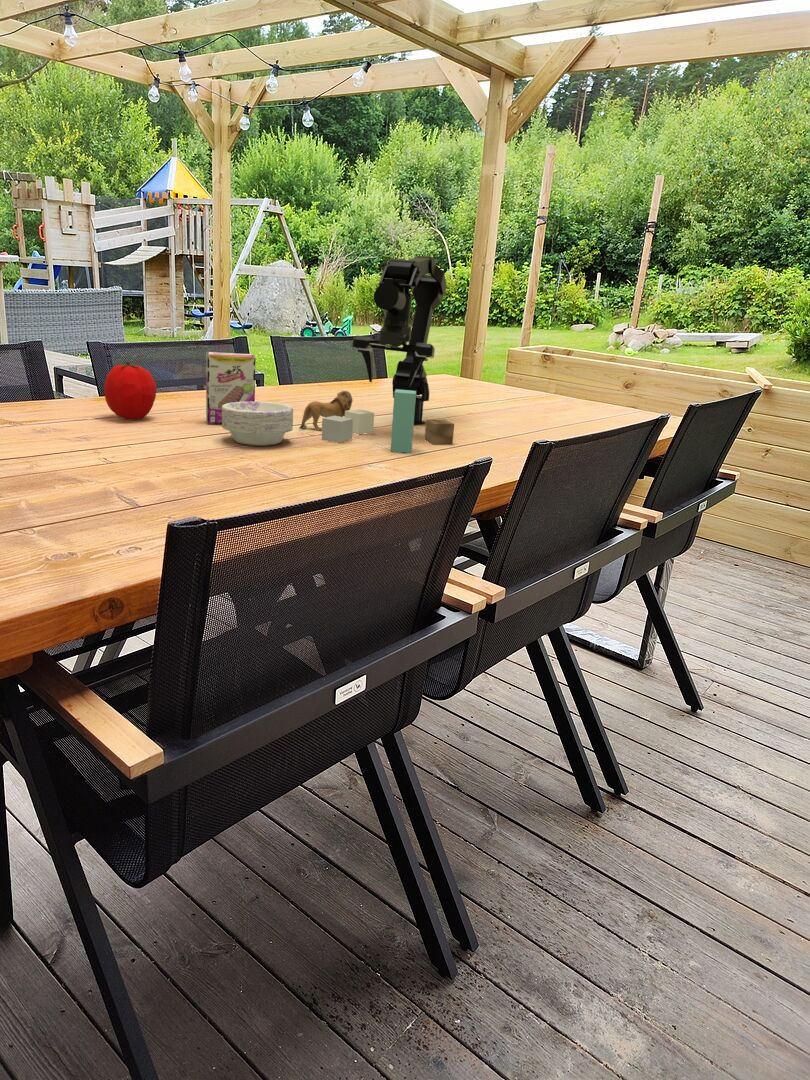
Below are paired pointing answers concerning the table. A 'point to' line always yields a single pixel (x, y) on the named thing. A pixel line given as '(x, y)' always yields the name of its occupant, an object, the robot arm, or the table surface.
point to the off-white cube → (361, 420)
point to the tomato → (130, 391)
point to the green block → (403, 420)
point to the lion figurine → (327, 409)
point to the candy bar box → (228, 382)
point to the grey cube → (337, 428)
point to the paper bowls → (257, 422)
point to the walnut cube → (439, 432)
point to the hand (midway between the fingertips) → (389, 384)
